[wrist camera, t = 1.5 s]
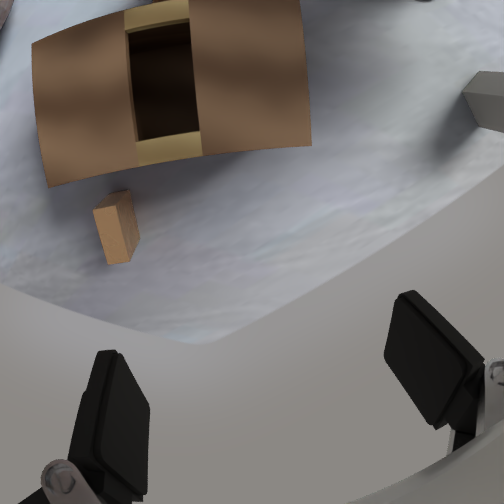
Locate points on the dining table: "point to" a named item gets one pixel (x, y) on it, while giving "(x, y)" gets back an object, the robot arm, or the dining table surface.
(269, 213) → the dining table surface
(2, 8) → the plant pot
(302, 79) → the box
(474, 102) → the perfume bottle
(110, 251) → the tan flat square block
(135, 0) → the dining table surface
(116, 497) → the robot arm
